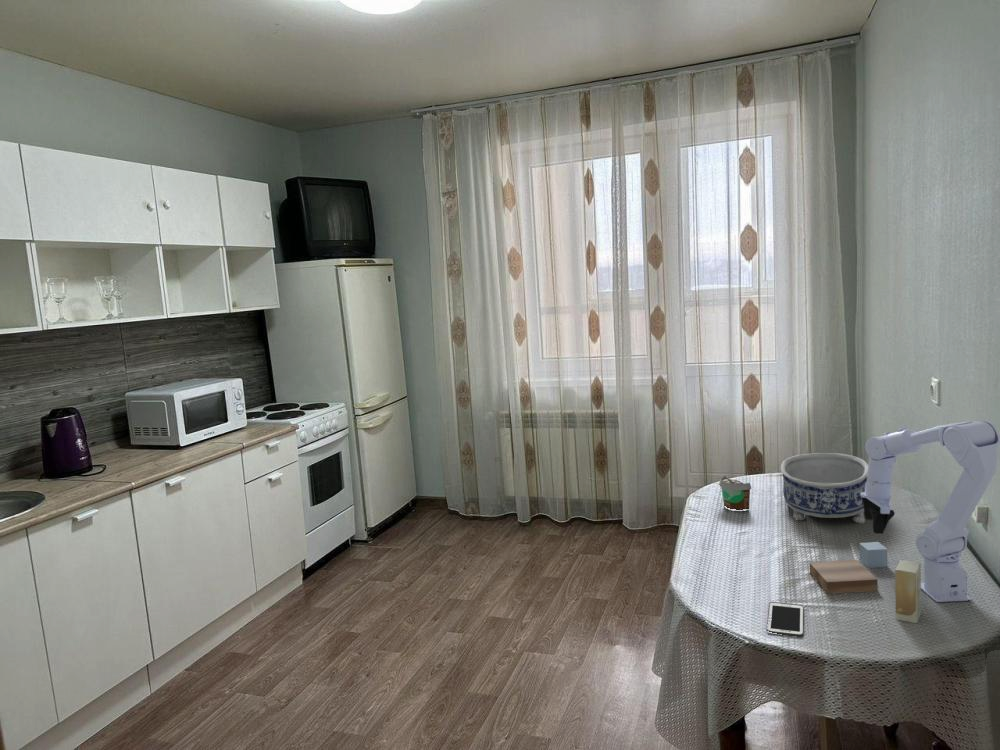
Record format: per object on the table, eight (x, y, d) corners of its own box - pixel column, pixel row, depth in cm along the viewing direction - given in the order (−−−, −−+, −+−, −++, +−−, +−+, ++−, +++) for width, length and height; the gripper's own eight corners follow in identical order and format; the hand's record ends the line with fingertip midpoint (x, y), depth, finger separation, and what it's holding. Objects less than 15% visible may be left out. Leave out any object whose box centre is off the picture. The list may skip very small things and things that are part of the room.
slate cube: (887, 567, 184) (887, 549, 184) (867, 568, 185) (867, 550, 184) (878, 559, 189) (878, 541, 189) (859, 560, 190) (859, 543, 189)
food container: (712, 506, 242) (711, 478, 241) (726, 502, 245) (724, 475, 243) (738, 515, 231) (737, 486, 230) (752, 511, 233) (751, 483, 232)
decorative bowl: (880, 534, 206) (879, 485, 204) (783, 530, 215) (781, 484, 213) (862, 490, 245) (861, 448, 243) (780, 488, 254) (779, 448, 252)
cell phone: (803, 608, 167) (803, 604, 167) (803, 639, 154) (803, 635, 154) (769, 605, 171) (769, 601, 170) (766, 634, 157) (766, 630, 157)
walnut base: (877, 590, 172) (877, 579, 171) (827, 593, 173) (827, 582, 173) (856, 570, 184) (856, 559, 183) (809, 573, 185) (809, 562, 184)
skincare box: (900, 608, 163) (899, 558, 161) (921, 612, 160) (921, 562, 158) (894, 620, 158) (894, 568, 156) (916, 624, 155) (916, 572, 153)
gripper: (855, 467, 190) (850, 512, 194) (870, 490, 177) (865, 538, 180) (883, 468, 189) (877, 513, 193) (901, 491, 175) (895, 540, 179)
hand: (873, 525), depth 186 cm, fingers open, 7 cm apart
